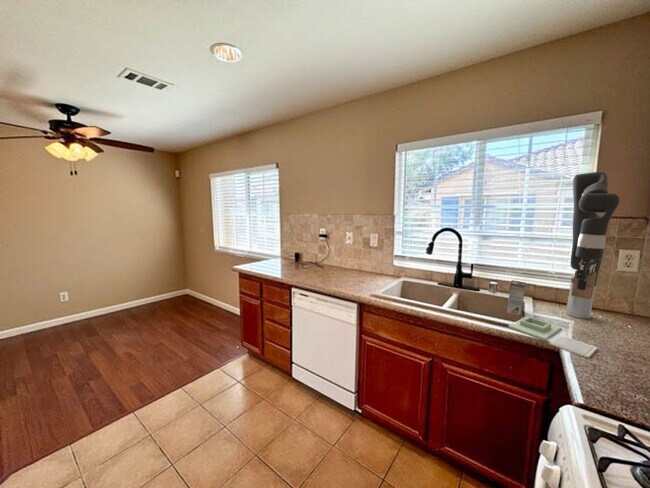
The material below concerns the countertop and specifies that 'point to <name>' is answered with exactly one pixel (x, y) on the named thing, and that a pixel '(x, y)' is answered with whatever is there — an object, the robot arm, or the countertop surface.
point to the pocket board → (535, 327)
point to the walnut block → (588, 288)
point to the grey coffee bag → (516, 297)
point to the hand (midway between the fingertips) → (583, 288)
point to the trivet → (573, 346)
